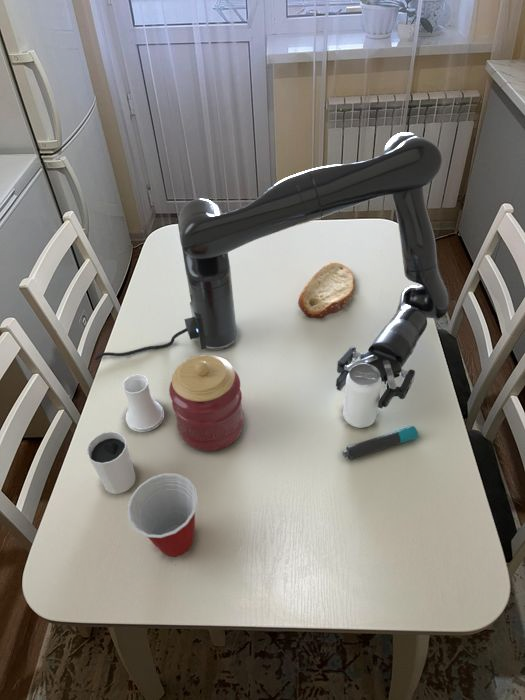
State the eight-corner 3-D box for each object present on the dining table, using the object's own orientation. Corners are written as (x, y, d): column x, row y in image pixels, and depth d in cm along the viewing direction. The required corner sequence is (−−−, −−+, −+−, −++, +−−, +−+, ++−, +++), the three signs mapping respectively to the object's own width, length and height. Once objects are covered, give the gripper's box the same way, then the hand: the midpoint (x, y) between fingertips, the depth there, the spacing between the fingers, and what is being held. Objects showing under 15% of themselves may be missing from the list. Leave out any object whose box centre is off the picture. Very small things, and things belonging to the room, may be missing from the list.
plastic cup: (144, 514, 94) (129, 475, 85) (206, 507, 94) (197, 468, 86) (139, 576, 86) (122, 539, 78) (207, 569, 86) (197, 532, 78)
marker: (343, 459, 100) (347, 461, 98) (340, 447, 101) (344, 448, 98) (413, 437, 103) (419, 438, 101) (410, 425, 103) (416, 426, 101)
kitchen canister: (253, 409, 110) (248, 345, 97) (230, 460, 101) (221, 398, 89) (195, 395, 113) (183, 332, 101) (167, 443, 104) (150, 381, 92)
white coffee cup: (106, 464, 101) (92, 431, 95) (141, 464, 101) (129, 431, 94) (97, 496, 97) (81, 463, 90) (134, 496, 96) (121, 463, 89)
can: (375, 431, 104) (381, 389, 96) (341, 426, 105) (345, 384, 97) (376, 405, 109) (383, 363, 101) (344, 401, 110) (348, 359, 102)
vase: (147, 437, 106) (137, 404, 99) (118, 422, 109) (106, 389, 102) (171, 411, 110) (163, 378, 103) (143, 398, 113) (133, 364, 106)
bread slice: (342, 264, 144) (342, 253, 142) (375, 303, 132) (377, 291, 129) (279, 281, 140) (279, 269, 138) (307, 323, 128) (308, 311, 125)
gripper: (363, 319, 111) (326, 368, 102) (430, 343, 105) (397, 397, 96) (360, 346, 116) (324, 394, 107) (424, 370, 110) (392, 424, 101)
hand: (359, 396), depth 101 cm, fingers open, 8 cm apart
